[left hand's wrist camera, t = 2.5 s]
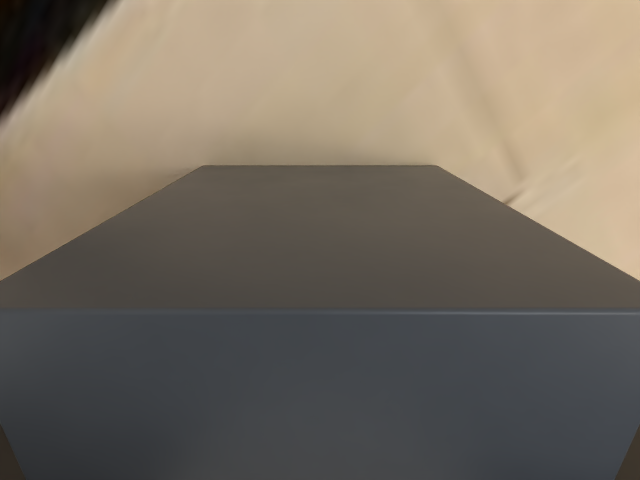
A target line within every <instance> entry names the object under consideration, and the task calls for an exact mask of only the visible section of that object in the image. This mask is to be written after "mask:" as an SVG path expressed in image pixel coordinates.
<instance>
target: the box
mask: <svg viewBox="0 0 640 480" xmlns="http://www.w3.org/2000/svg"><path fill="white" fill-rule="evenodd" d="M0 424H1V426H2V428H3V431H4V433H5V435H6V437H7V439H8V441H9V444H10V446H11V448H12V450H13V452H14V455H15V457H16V459H17V461H18V463H19V466H20V468H21V470H22V472H23V474H24V477H25V479H26V480H615V478H616V475H617V473H618V471H619V469H620V467H621V464H622V462H623V460H624V458H625V456H626V453H627V451H628V449H629V447H630V445H631V443H632V440H633V438H634V436H635V434H636V432H637V429H638V427H639V425H640V281H639V280H637V279H635V278H634V277H632V276H630V275H628V274H627V273H625V272H623V271H621V270H620V269H618V268H616V267H614V266H613V265H611V264H609V263H607V262H605V261H604V260H602V259H600V258H598V257H597V256H595V255H593V254H591V253H590V252H588V251H586V250H584V249H583V248H581V247H579V246H577V245H576V244H574V243H572V242H570V241H569V240H567V239H565V238H563V237H562V236H560V235H558V234H556V233H555V232H553V231H551V230H549V229H548V228H546V227H544V226H542V225H541V224H539V223H537V222H535V221H533V220H532V219H530V218H528V217H526V216H525V215H523V214H521V213H519V212H518V211H516V210H514V209H512V208H511V207H509V206H507V205H505V204H504V203H502V202H500V201H498V200H497V199H495V198H493V197H491V196H490V195H488V194H486V193H484V192H483V191H481V190H479V189H477V188H476V187H474V186H472V185H470V184H469V183H467V182H465V181H463V180H461V179H460V178H458V177H456V176H454V175H453V174H451V173H449V172H447V171H446V170H444V169H442V168H440V167H439V166H202V167H200V168H198V169H196V170H195V171H193V172H191V173H189V174H188V175H186V176H184V177H182V178H181V179H179V180H177V181H175V182H173V183H172V184H170V185H168V186H166V187H165V188H163V189H161V190H159V191H158V192H156V193H154V194H152V195H151V196H149V197H147V198H145V199H144V200H142V201H140V202H138V203H137V204H135V205H133V206H131V207H130V208H128V209H126V210H124V211H123V212H121V213H119V214H117V215H116V216H114V217H112V218H110V219H109V220H107V221H105V222H103V223H102V224H100V225H98V226H96V227H95V228H93V229H91V230H89V231H88V232H86V233H84V234H82V235H81V236H79V237H77V238H75V239H74V240H72V241H70V242H68V243H66V244H65V245H63V246H61V247H59V248H58V249H56V250H54V251H52V252H51V253H49V254H47V255H45V256H44V257H42V258H40V259H38V260H37V261H35V262H33V263H31V264H30V265H28V266H26V267H24V268H23V269H21V270H19V271H17V272H16V273H14V274H12V275H10V276H9V277H7V278H5V279H3V280H2V281H0Z"/></svg>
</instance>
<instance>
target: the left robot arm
mask: <svg viewBox="0 0 640 480" xmlns="http://www.w3.org/2000/svg"><path fill="white" fill-rule="evenodd" d="M0 480H26V479H25V477H24V474H23V472H22V470H21V468H20V466H19V463H18V461H17V459H16V457H15V455H14V452H13V450H12V448H11V446H10V444H9V441H8V439H7V437H6V435H5V433H4V431H3V428H2V426H1V424H0ZM615 480H640V425H639V427H638V429H637V432H636V434H635V436H634V438H633V440H632V443H631V445H630V447H629V449H628V451H627V453H626V456H625V458H624V460H623V462H622V464H621V467H620V469H619V471H618V473H617V475H616V478H615Z"/></svg>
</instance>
